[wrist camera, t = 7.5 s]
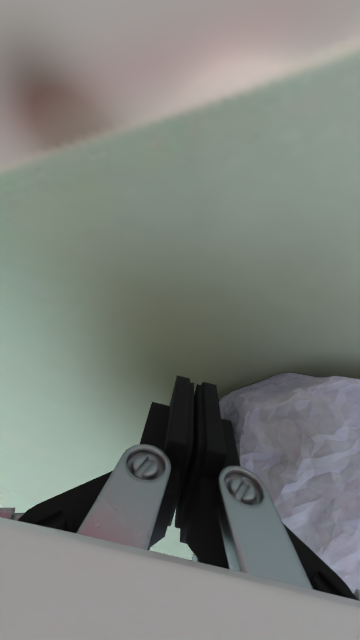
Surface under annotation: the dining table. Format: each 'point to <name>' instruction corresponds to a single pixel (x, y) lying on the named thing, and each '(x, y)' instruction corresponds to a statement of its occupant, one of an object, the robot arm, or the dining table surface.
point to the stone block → (306, 458)
